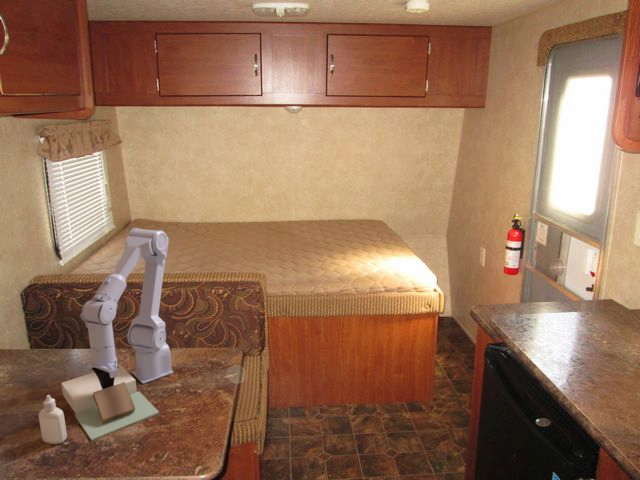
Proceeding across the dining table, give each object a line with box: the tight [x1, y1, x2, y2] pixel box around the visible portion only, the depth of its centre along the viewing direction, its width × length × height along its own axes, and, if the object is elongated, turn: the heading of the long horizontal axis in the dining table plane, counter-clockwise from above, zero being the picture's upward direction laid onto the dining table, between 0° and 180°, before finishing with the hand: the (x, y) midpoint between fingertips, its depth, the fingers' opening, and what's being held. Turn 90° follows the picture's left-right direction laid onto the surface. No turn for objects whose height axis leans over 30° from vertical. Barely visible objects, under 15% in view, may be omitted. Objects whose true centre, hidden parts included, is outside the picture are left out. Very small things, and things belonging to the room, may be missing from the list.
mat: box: [74, 391, 160, 442], centre depth 132 cm, size 17×13×1 cm
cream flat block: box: [61, 363, 138, 415], centre depth 141 cm, size 16×12×4 cm
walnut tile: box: [93, 382, 135, 423], centre depth 131 cm, size 8×8×2 cm
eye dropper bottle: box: [38, 394, 68, 445], centre depth 121 cm, size 4×6×12 cm
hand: (108, 390), depth 134 cm, fingers closed
